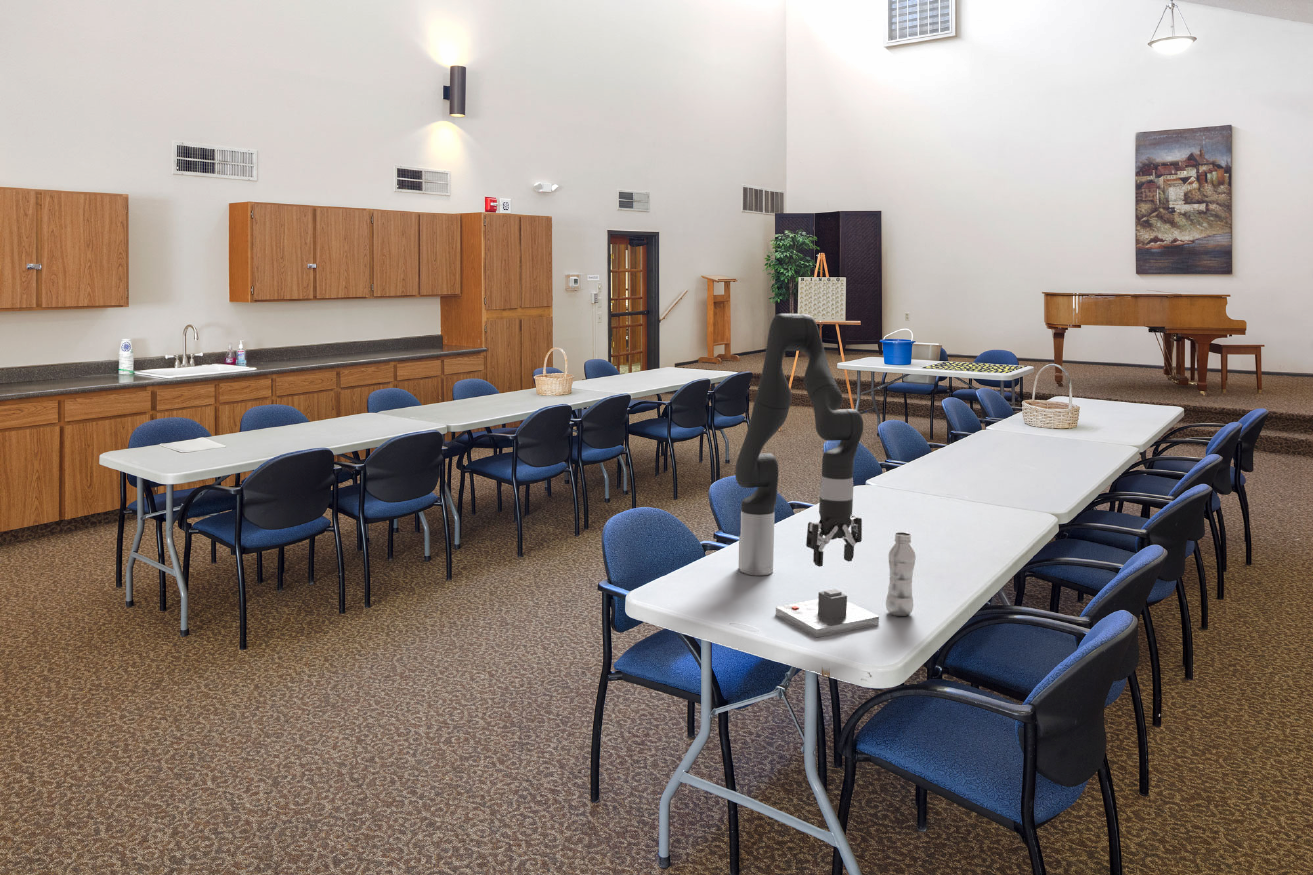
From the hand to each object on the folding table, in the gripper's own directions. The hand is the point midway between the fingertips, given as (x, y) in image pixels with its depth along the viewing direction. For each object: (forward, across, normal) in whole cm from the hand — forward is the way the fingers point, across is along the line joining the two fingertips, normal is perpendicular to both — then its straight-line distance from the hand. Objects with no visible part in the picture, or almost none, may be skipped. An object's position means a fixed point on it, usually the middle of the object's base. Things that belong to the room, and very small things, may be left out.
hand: (833, 563), depth 207 cm
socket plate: (+14, 0, -2) cm, 15 cm away
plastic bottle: (+15, -18, +3) cm, 23 cm away
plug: (+14, 0, 0) cm, 15 cm away
